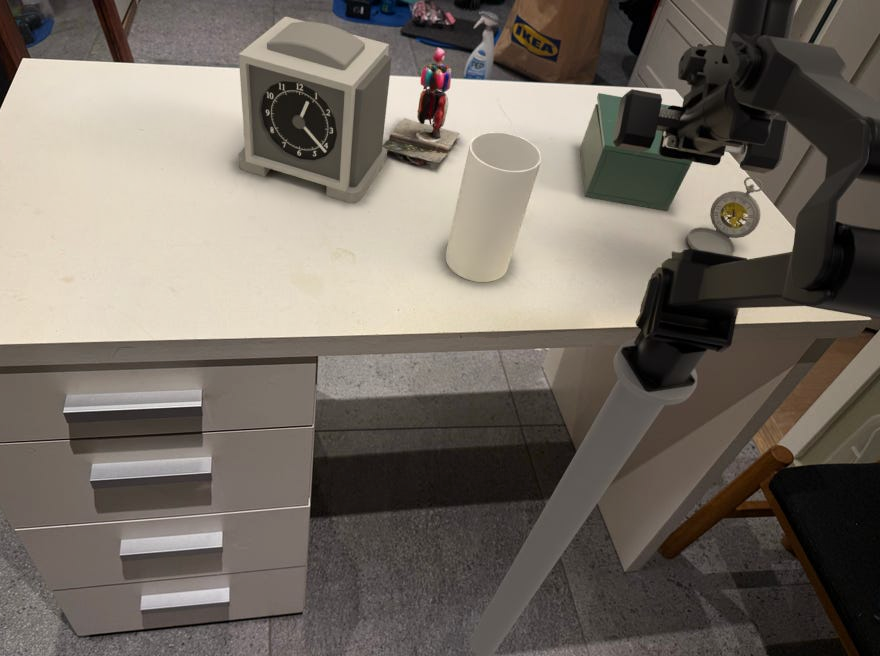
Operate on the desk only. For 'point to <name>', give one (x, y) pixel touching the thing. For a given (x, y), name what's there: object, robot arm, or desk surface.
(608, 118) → the lid
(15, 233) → the desk surface
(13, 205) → the desk surface
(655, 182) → the panel
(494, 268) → the cup
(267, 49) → the alarm clock
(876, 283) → the robot arm
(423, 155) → the statue
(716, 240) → the pocket watch
